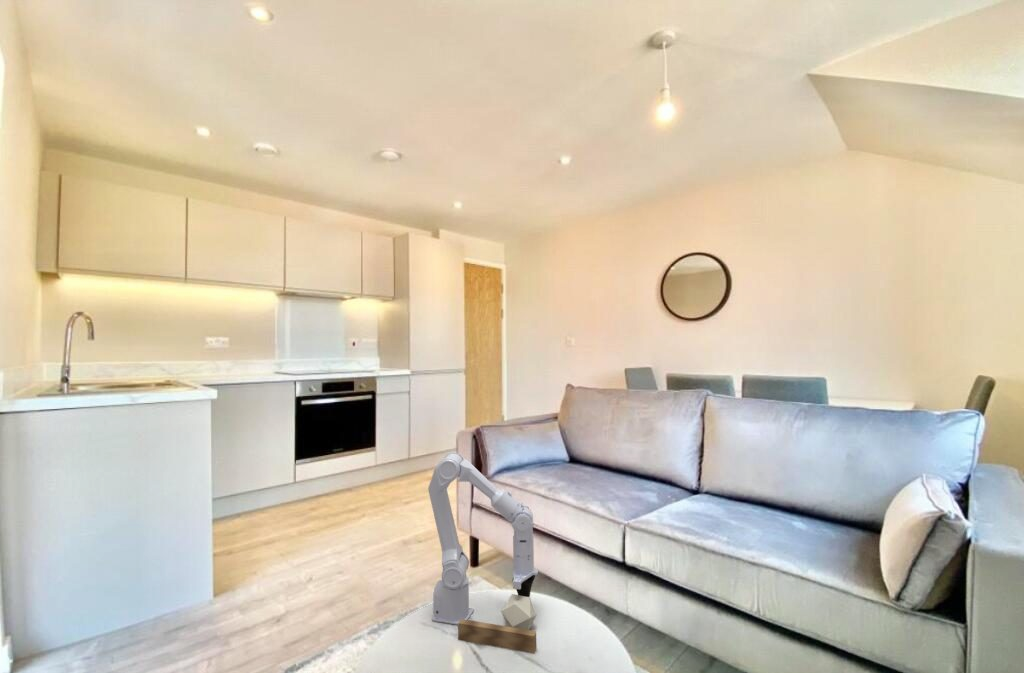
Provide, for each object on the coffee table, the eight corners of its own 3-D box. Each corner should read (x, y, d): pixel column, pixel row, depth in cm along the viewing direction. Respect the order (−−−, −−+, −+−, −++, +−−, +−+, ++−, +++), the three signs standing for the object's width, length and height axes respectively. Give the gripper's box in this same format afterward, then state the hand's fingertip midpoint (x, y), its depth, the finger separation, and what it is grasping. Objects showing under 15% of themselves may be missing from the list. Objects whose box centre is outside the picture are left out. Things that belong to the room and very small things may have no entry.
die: (541, 626, 116) (526, 588, 121) (540, 626, 109) (525, 585, 114) (513, 640, 115) (499, 601, 120) (510, 641, 108) (496, 600, 113)
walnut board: (458, 639, 110) (458, 623, 110) (461, 635, 112) (461, 618, 112) (534, 653, 104) (534, 636, 104) (536, 648, 106) (536, 631, 106)
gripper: (530, 566, 113) (531, 620, 112) (543, 544, 127) (544, 592, 126) (505, 563, 115) (505, 616, 114) (520, 542, 129) (520, 589, 128)
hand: (524, 603), depth 120 cm, fingers closed
